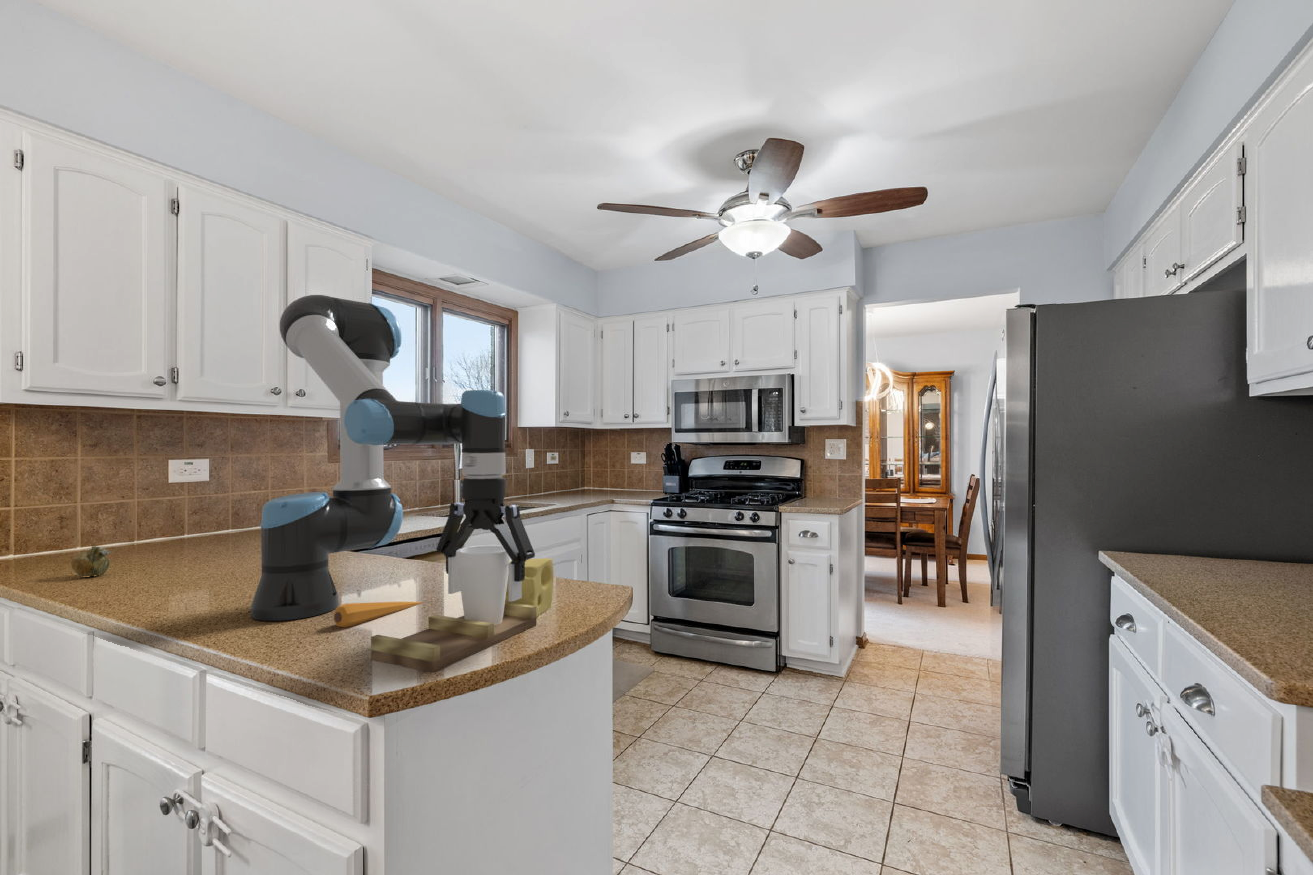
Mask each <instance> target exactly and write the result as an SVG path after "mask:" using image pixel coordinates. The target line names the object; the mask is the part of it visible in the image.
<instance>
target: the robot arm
mask: <svg viewBox="0 0 1313 875" xmlns="http://www.w3.org/2000/svg"><path fill="white" fill-rule="evenodd" d="M279 333H280V337H281V338H282V341H283V342H284V344H285V345H286V347H287V348H288V349H289V350H290V352H291V353H292V354H293V355H295V356H297V358H298V357H299V358H301V359H303V360H305V361H306V362H307V363H308V365H309V367H311V368H312V370H313V371H314V372H315V374H316V375H317V376H318V377H319V379H320V380H321V381H322V382H323V383H324V385H326V387H327V388H328V389H329V390H330V392H331V393H332V394H333V395H334V397H335V398H336V399H337V400H338V402H339V440H340V441H339V444H340V445H339V450H340V451H339V453H340V454H339V455H340V457H339V460H340V461H339V462H340V465H339V466H340V467H339V469H340V471H339V472H340V473H339V474H340V480H339V482H338V483H337V484H335V486H333V487H332V497H330V496H329V493H328V492H326V491H309V492H301V493H294V494H289V495H284V496H280V497H276V498H273V499H271V500H269V501H267V502H265V504H264V505H263V506H262V508H261V509H262V510H261V522H260V532H261V533H260V534H261V535H260V537H261V540H260V541H261V576H260V579H259V581H258V585H257V587H256V590H255V593H254V596H253V599H252V601H251V604H250V617H251V619H254V620H256V621H257V620H258V621H263V622H264V621H265V622H267V621H268V622H276V621H278V622H279V621H290V620H299V619H303V618H310V617H314V616H319V615H323V614H325V613H329V612H331V611H334V610H336V609H337V608H338V607H339V593H338V591H337V589H336V586H335V582H334V581H333V577H332V575H331V572H330V570H329V569H330V568H329V554H335V553H342V552H347V551H349V552H350V551H354V550H355V551H356V550H361V549H374V548H376V547H379V546H380V547H381V546H385V545H388V544H389V543H392V541H393V540H395V537H397V535H398V534H399V532H400V529H401V527H402V525H403V524H402V523H403V516H404V509H403V505H402V503H401V500H400V498H399V496H397V495H396V493H395V494H394V493H393V492H392V485H390V483H388V482H387V481H386V479H385V478H384V469H385V468H384V445H438V446H439V445H443V446H444V445H445V446H446V445H451V444H452V445H459V444H461V469H462V470H461V472H462V473H461V474H462V476H465V478H462V481H461V498H462V499H463V500H464V502H463V501H459V502H452V503H450V505H449V514H448V517H447V520H446V521H445V522H446V523H445V525H444V528H443V530H442V534H441V536H440V538H439V541H438V543H437V545H436V552H437V553H441V554H443V556H444V557H445V572H446V574H447V575H448V576H447V577H448V578H447V580H448V581H447V583H448V584H447V585H448V586H447V590H448V594H449V595H452V594H456V593H458V592H461V589H460V581H459V574H458V567H457V565H456V551H457V550H458V549H461V548H464V545H465V544H466V543H467V541H468V540H469V538H471V535H472V534H473V532H474V531H475V530H484V531H490V532H491V533H492V534H494V535H495V536H496V538H497V540H498V541H499V543H500V544H501V545H502V546H503V547H504V549H505V551H506V552H507V554H508V555H509V557H510V558H511V560H512V561H511V562H510V563H508V593H509V601H510V602H513V601H515V600H518V599H521V598H522V581H523V580H524V578H525V561H526V560H528V559H535V556H536V553H535V551H534V548H533V546H532V543H531V541H530V540H531V539H529V536H528V533H527V531H526V528H525V525H524V523H523V521H522V518H521V512H520V505H518V504H510V505H506V506H505V504H504V499H505V497H506V496H507V495H506V494H507V492H506V490H507V489H506V487H507V486H506V479H505V477H503V475H506V473H507V471H506V470H507V469H506V468H507V467H506V466H507V465H506V416H507V413H506V403H505V402H506V401H505V396H504V394H503V393H502V392H501V391H499V390H491V389H490V390H489V389H488V390H487V389H470V390H468V389H467V390H465V391H463V393H462V394H461V401H460V403H435V402H433V403H432V402H418V401H417V402H416V401H400V400H397V399H396V398H395V397H394V396H393V395H392V394H391V392H389V391H388V389H387V388H386V387H385V386H384V376H383V375H384V374H383V373H384V372H385V371H386V370H387V369H388V368H389V367H390V366H391V359H393V358H395V357H396V356H397V355H398V353H399V351H400V349H399V348H401V346H402V331H401V326H400V323H399V320H398V319H397V316H396V315H394V313H393V311H391V310H390V309H388V308H386V307H384V306H379V305H376V304H374V303H371V302H368V303H367V302H363V301H356V300H350V299H345V298H344V299H343V298H340V297H339V298H338V297H333V296H329V295H324V294H310V295H305V296H302V297H299V298H297V299H295V300H294V301H292V302H291V303H290V304H288V305H287V307H285V309H284V310H283V312H282V314H281V317H280V320H279ZM464 515H465V518H464ZM463 518H464V519H463Z"/></svg>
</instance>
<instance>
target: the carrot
mask: <svg viewBox="0 0 1313 875" xmlns="http://www.w3.org/2000/svg"><path fill="white" fill-rule="evenodd" d="M423 603H424V602H423V601H386V602H385V601H384V602H383V601H382V602H380V601H379V602H377V601H376V602H353V603H352V602H351V603H349V602H348V603H343V604H342V605H338V607H337V608H335V609H334V614H333V621H334V623H335V626H336V627H339V628H351V627H354V626H356V625H360V624H363V623H366V622H369V621H372V620H377V619H378V618H381V616H382V617H385V616H387V615H391V614H394V613H397V612H400V611H403V609H404V610H406V609H409V608H412V607H414V605H415V606H417V604H418V605H420V604H423ZM411 606H412V607H411ZM405 608H406V609H405ZM393 612H394V613H393ZM390 613H391V614H390Z"/></svg>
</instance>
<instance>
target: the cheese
mask: <svg viewBox="0 0 1313 875" xmlns="http://www.w3.org/2000/svg"><path fill="white" fill-rule="evenodd" d="M511 561H512V560H511ZM554 578H555V576H554V563H553V558H550V557H549V558H531V559H528V560H526V561H525V578H524V580H523V581H522V598H521V599H518V600H515V601H513V602H510V601H509V593H508V581H507V589H506V597H505V602H509V603H516V604H524V605H532V606H536V619H538V617H539V616H540V615H542V614H543V613H544V612H545V611H547V610H549V609H551V607H552V601H553V593H554V582H555V581H554V580H555V579H554Z"/></svg>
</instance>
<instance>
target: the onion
mask: <svg viewBox="0 0 1313 875" xmlns="http://www.w3.org/2000/svg"><path fill="white" fill-rule="evenodd" d="M109 554H111V550H109V549H108V550H107V549H106V548H104V547H102V546H97V545H93V546H91V548H90V549H89V550H86V551H82V552H81V553H78V554H77V555H75V556H74V557H73V559H72V561H71V569H72V571H73V572H74V573H75V574H77V575H78V576H79V577H81V576H94V575H99V574H102V575H104V574H105V573H106V572H108V570H109V568H110V564H111V562H110V559H109V557H106V556H108V555H109Z"/></svg>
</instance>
